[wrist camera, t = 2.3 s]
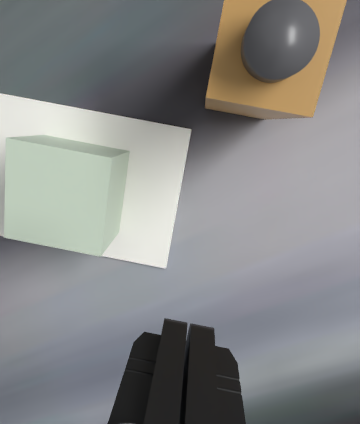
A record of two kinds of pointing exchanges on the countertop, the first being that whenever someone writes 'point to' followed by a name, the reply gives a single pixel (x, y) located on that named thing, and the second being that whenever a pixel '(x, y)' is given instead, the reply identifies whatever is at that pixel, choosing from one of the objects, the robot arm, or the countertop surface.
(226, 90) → the reagent bottle
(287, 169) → the countertop surface
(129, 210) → the letter
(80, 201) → the sage block
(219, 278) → the countertop surface
